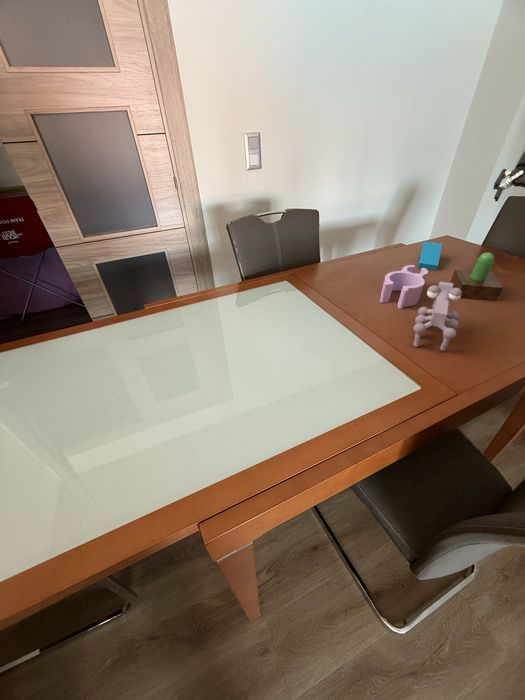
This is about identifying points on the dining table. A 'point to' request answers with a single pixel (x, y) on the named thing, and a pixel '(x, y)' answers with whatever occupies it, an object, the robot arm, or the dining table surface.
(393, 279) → the clip
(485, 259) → the green toy
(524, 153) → the robot arm
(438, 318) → the mauve bug toy
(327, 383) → the dining table surface
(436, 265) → the blue rectangular brick
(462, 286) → the walnut block
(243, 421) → the dining table surface
